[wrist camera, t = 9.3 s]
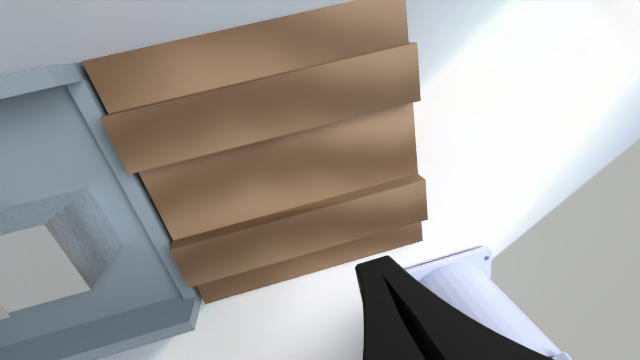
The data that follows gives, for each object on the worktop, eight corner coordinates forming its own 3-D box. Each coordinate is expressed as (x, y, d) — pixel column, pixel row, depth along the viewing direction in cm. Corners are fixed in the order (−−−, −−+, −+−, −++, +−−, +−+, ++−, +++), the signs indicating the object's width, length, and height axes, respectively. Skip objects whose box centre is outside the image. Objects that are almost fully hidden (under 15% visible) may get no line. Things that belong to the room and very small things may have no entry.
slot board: (416, 233, 23) (429, 248, 22) (207, 293, 22) (203, 315, 20) (396, -8, 16) (413, -14, 15) (92, 60, 15) (69, 62, 13)
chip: (122, 243, 19) (91, 289, 15) (56, 261, 19) (7, 312, 15) (88, 186, 17) (44, 224, 14) (14, 205, 17) (-52, 249, 13)
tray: (202, 294, 22) (194, 329, 19) (-2, 353, 21) (-40, 399, 18) (84, 62, 15) (46, 66, 12) (-229, 131, 14) (-345, 152, 11)
